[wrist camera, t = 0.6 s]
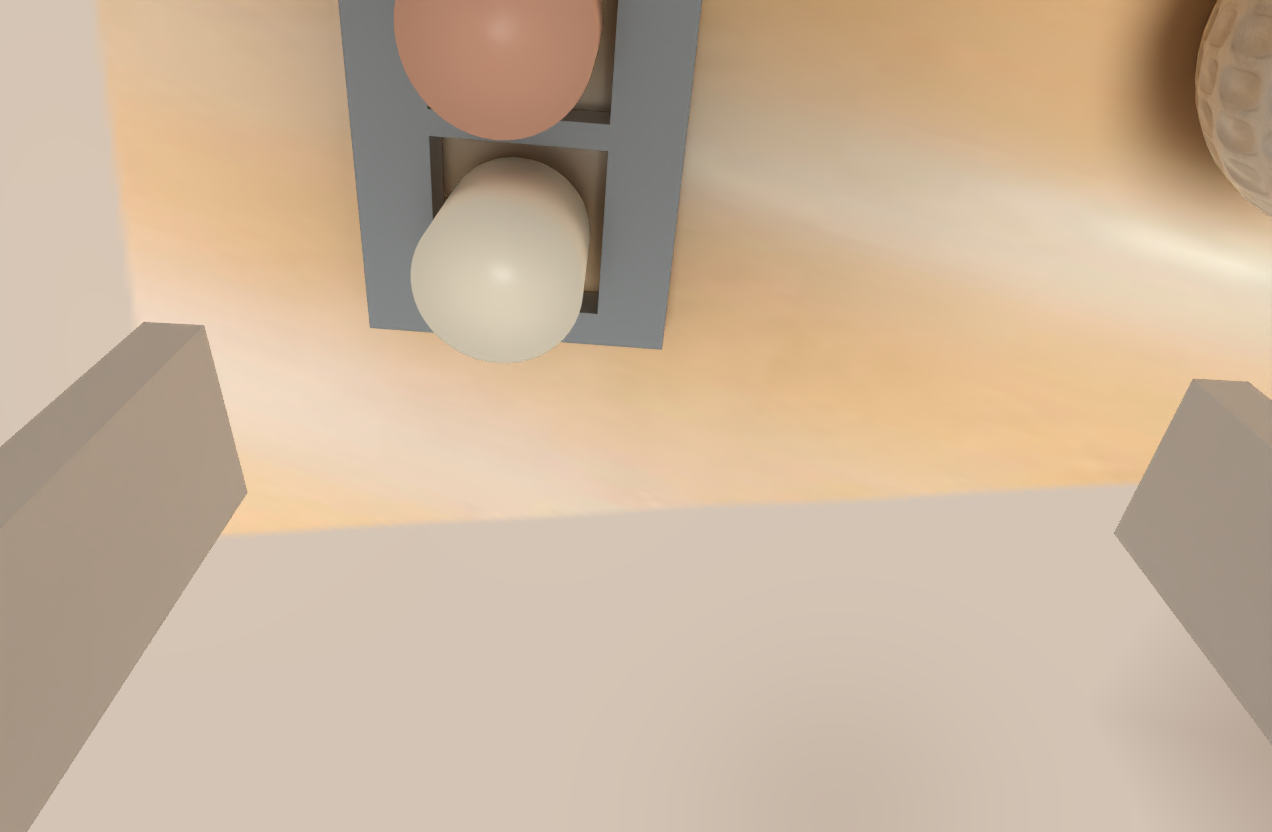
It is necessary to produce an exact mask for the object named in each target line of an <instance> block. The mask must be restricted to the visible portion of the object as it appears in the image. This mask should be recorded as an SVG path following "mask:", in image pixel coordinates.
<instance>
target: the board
mask: <svg viewBox="0 0 1272 832" xmlns="http://www.w3.org/2000/svg"><path fill="white" fill-rule="evenodd" d="M338 2H339V13H340V23H341V33H342V44H343V54H344V64H345V75H346V85H347V95H348V106H349V116H350V126H351V136H352V147H353V157H354V167H355V178H356V188H357V198H358V209H359V219H360V229H361V240H362V250H363V260H364V271H365V281H366V291H367V302H368V312H369V322H370V328H379V329H392V330H406V331H419V332H433V331H432V330H431V329H430V327H429V326H428V325H427V323H426V322H425V321H424V319H423V317H422V315H421V314H420V312H419V310H418V308H417V305H416V303H415V300H414V296H413V293H412V287H411V264H412V259H413V255H414V252H415V249H416V247H417V245H418V243H419V241H420V239H421V237H422V236H423V234H424V233H425V231H426V230H427V228H428V227H429V225H430V224H431V222H432V221H433V219H434V218H435V216H436V215H437V213H438V212H439V210H440V209H441V208H442V206H443V205H444V178H443V153H442V137H448V138H459V139H471V140H483V141H494V142H506V143H517V144H529V145H541V146H552V147H564V148H575V149H587V150H598V151H608V162H607V177H606V192H605V208H604V223H603V238H602V253H601V268H600V284H599V293H598V292H585V291H583V298H582V305H581V309H580V312H579V315H578V317H577V320H576V322H575V324H574V326H573V327H572V329H571V330H570V332H569V333H568V334H567V336H566V337H565V338H564V339H563V340H562V341H561V342H567V343H580V344H594V345H607V346H620V347H634V348H647V349H661V350H662V345H663V336H664V327H665V318H666V310H667V301H668V292H669V283H670V275H671V266H672V257H673V249H674V240H675V231H676V222H677V214H678V205H679V196H680V187H681V179H682V170H683V161H684V152H685V144H686V135H687V126H688V118H689V109H690V100H691V91H692V83H693V74H694V65H695V56H696V48H697V39H698V30H699V21H700V13H701V4H702V0H618V10H617V25H616V40H615V56H614V71H613V86H612V101H611V112H600V111H588V110H577V109H572V110H571V111H570V112H569V113H568V114H567V115H566V116H565V117H564V118H563V119H561V120H560V121H559V122H558V123H556V124H555V125H554V126H552V127H550V128H549V129H547V130H545V131H543V132H541V133H538V134H536V135H534V136H530V137H526V138H523V139H516V140H493V139H486V138H482V137H478V136H475V135H472V134H469V133H467V132H465V131H462V130H460V129H458V128H456V127H455V126H453V125H451V124H450V123H448V122H447V121H445V120H444V119H443V118H441V117H440V116H439V115H437V114H436V113H435V112H434V111H433V110H432V109H431V108H430V107H429V106H428V105H427V104H426V102H425V101H424V100H423V99H422V98H421V96H420V95H419V94H418V92H417V91H416V89H415V88H414V86H413V85H412V83H411V82H410V80H409V78H408V76H407V74H406V72H405V70H404V67H403V64H402V62H401V59H400V56H399V53H398V48H397V44H396V39H395V31H394V7H395V0H338ZM433 333H434V332H433Z"/></svg>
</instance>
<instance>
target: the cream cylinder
mask: <svg viewBox="0 0 1272 832" xmlns="http://www.w3.org/2000/svg"><path fill="white" fill-rule="evenodd" d="M589 245H590V222H589V217H588V213H587V210H586V207H585V205H584V202H583V200H582V199H581V197H580V195H579V193H578V192H577V191H576V189H575V188H574V187H573V185H572V184H571V183H570V182H569V181H568V180H567V179H566V178H565V177H564V176H562V175H561V174H560V173H559V172H557V171H556V170H554V169H553V168H551V167H549V166H547V165H545V164H543V163H540V162H538V161H535V160H531V159H527V158H520V157H505V158H498V159H494V160H490V161H487V162H485V163H483V164H480V165H479V166H477V167H475V168H473V169H472V170H471V171H469V172H468V173H467V174H466V175H465V176H464V177H463V178H462V179H461V180H460V181H459V182H458V184H457V185H456V187H455V188H454V190H453V191H452V193H451V194H450V196H449V197H448V199H447V200H446V202H445V203H444V205H443V206H442V208H441V209H440V210H439V212H438V213H437V215H436V216H435V218H434V219H433V221H432V222H431V224H430V225H429V227H428V228H427V230H426V231H425V233H424V234H423V236H422V237H421V239H420V241H419V243H418V245H417V247H416V249H415V252H414V255H413V259H412V264H411V287H412V293H413V296H414V300H415V303H416V305H417V308H418V310H419V312H420V314H421V315H422V317H423V319H424V321H425V322H426V323H427V325H428V326H429V327H430V329H431V330H432V331H433V332H434V333H435V334H436V335H437V336H438V337H439V338H440V339H441V340H443V341H444V342H445V343H446V344H447V345H449V346H451V347H452V348H454V349H455V350H457V351H459V352H461V353H463V354H465V355H467V356H470V357H472V358H475V359H478V360H482V361H486V362H494V363H515V362H522V361H526V360H530V359H533V358H535V357H538V356H540V355H542V354H544V353H546V352H548V351H549V350H551V349H552V348H554V347H555V346H557V345H558V344H559V343H560V342H561V341H562V340H563V339H564V338H565V337H566V336H567V334H568V333H569V332H570V330H571V329H572V327H573V326H574V324H575V322H576V320H577V317H578V315H579V312H580V309H581V305H582V298H583V291H584V283H585V275H586V268H587V260H588V252H589Z"/></svg>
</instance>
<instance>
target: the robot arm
mask: <svg viewBox="0 0 1272 832" xmlns="http://www.w3.org/2000/svg"><path fill="white" fill-rule="evenodd" d="M246 494H247V489H246V485H245V481H244V477H243V473H242V469H241V466H240V462H239V458H238V454H237V450H236V446H235V442H234V439H233V435H232V431H231V427H230V423H229V419H228V416H227V412H226V408H225V404H224V400H223V396H222V392H221V389H220V385H219V381H218V377H217V373H216V369H215V365H214V362H213V358H212V354H211V350H210V346H209V342H208V339H207V335H206V331H205V327H204V325H188V324H170V323H151V322H143V323H142V324H141V325H140V326H139V327H138V328H136V329H135V330H134V331H133V332H132V333H131V334H130V335H128V336H127V337H126V338H125V339H124V340H123V341H121V342H120V343H119V344H118V345H117V346H116V347H115V348H113V349H112V350H111V351H110V352H109V353H108V354H107V355H106V356H104V357H103V358H102V359H101V360H100V361H99V362H98V363H96V364H95V365H94V366H93V367H92V368H91V369H89V370H88V371H87V372H86V373H85V374H84V375H82V377H80V378H79V379H78V380H77V381H76V382H74V383H73V384H72V385H71V386H70V387H69V388H68V389H66V390H65V391H64V392H63V393H62V394H61V395H59V396H58V397H57V398H56V399H55V400H54V401H53V402H51V403H50V404H49V405H48V406H47V407H46V408H45V409H43V410H42V411H41V412H40V413H39V414H38V415H37V416H35V417H34V418H33V419H32V420H31V421H30V422H28V424H26V425H25V426H24V427H23V428H22V429H20V430H19V431H18V432H17V433H16V434H15V435H14V436H12V437H11V438H10V439H9V440H8V441H7V442H5V443H4V444H3V445H2V446H1V447H0V832H27V831H28V830H29V828H30V827H31V825H32V824H33V822H34V820H35V819H36V817H37V816H38V814H39V813H40V811H41V810H42V808H43V806H44V805H45V803H46V802H47V800H48V799H49V797H50V796H51V794H52V793H53V791H54V790H55V788H56V787H57V785H58V784H59V781H60V780H61V779H62V777H63V776H64V774H65V773H66V771H67V770H68V768H69V766H70V765H71V763H72V762H73V760H74V759H75V757H76V756H77V754H78V753H79V751H80V750H81V748H82V746H83V745H84V743H85V742H86V740H87V739H88V737H89V736H90V734H91V733H92V731H93V730H94V728H95V726H96V725H97V723H98V722H99V720H100V719H101V717H102V716H103V714H104V712H105V711H106V710H107V708H108V706H109V705H110V703H111V702H112V700H113V699H114V697H115V696H116V694H117V693H118V691H119V690H120V688H121V686H122V685H123V683H124V682H125V680H126V679H127V677H128V676H129V674H130V672H131V671H132V669H133V668H134V666H135V665H136V663H137V662H138V660H139V659H140V657H141V656H142V654H143V652H144V651H145V649H146V648H147V646H148V645H149V643H150V642H151V640H152V638H153V637H154V636H155V634H156V633H157V631H158V629H159V628H160V626H161V625H162V623H163V621H164V620H165V619H166V617H167V616H168V614H169V612H170V611H171V609H172V608H173V606H174V605H175V603H176V602H177V600H178V599H179V597H180V596H181V594H182V592H183V591H184V589H185V588H186V586H187V585H188V583H189V582H190V580H191V579H192V577H193V575H194V574H195V572H196V571H197V569H198V568H199V566H200V565H201V563H202V561H203V560H204V558H205V557H206V555H207V554H208V552H209V551H210V549H211V548H212V546H213V545H214V543H215V542H216V540H217V539H218V537H219V535H220V534H221V532H222V531H223V529H224V528H225V526H226V525H227V523H228V522H229V520H230V518H231V517H232V515H233V514H234V512H235V511H236V509H237V508H238V506H239V505H240V503H241V502H242V500H243V498H244V497H245V495H246ZM1114 534H1115V535H1116V537H1117V538H1118V539H1119V541H1120V542H1121V543H1122V545H1123V546H1124V547H1125V549H1126V550H1127V551H1128V552H1129V554H1130V555H1131V557H1132V558H1133V560H1134V561H1135V562H1136V563H1137V565H1138V566H1139V567H1140V569H1141V570H1142V572H1143V573H1144V574H1145V575H1146V577H1147V578H1148V580H1149V581H1150V582H1151V584H1152V585H1153V586H1154V587H1155V589H1156V590H1157V592H1158V593H1159V594H1160V596H1161V597H1162V598H1163V600H1164V601H1165V602H1166V604H1167V605H1168V606H1169V608H1170V609H1171V610H1172V612H1173V613H1174V614H1175V616H1176V617H1177V618H1178V620H1179V621H1180V622H1181V624H1182V625H1183V626H1184V628H1185V629H1186V631H1187V632H1188V633H1189V634H1190V636H1191V637H1192V638H1193V640H1194V641H1195V643H1196V644H1197V645H1198V647H1199V648H1200V649H1201V651H1202V652H1203V653H1204V655H1205V656H1206V657H1207V659H1208V660H1209V661H1210V663H1211V664H1212V665H1213V667H1214V668H1215V669H1216V671H1217V672H1218V673H1219V675H1220V676H1221V677H1222V679H1223V680H1224V681H1225V683H1226V684H1227V685H1228V687H1229V688H1230V689H1231V691H1232V692H1233V693H1234V695H1235V696H1236V697H1237V699H1238V700H1239V701H1240V703H1241V704H1242V706H1243V707H1244V708H1245V710H1246V711H1247V712H1248V713H1249V715H1250V716H1251V718H1252V719H1253V720H1254V722H1255V723H1256V724H1257V726H1258V727H1259V728H1260V729H1261V731H1262V732H1263V734H1264V735H1265V736H1266V737H1267V739H1268V740H1269V742H1270V743H1271V744H1272V400H1270V399H1269V398H1268V397H1267V396H1265V395H1264V394H1263V393H1262V392H1260V391H1259V390H1258V389H1257V388H1255V387H1254V386H1253V385H1252V384H1250V383H1249V382H1243V381H1225V380H1206V379H1193V380H1192V382H1191V384H1190V386H1189V388H1188V390H1187V392H1186V393H1185V395H1184V397H1183V399H1182V401H1181V403H1180V405H1179V407H1178V409H1177V411H1176V413H1175V415H1174V417H1173V419H1172V421H1171V423H1170V425H1169V427H1168V429H1167V431H1166V433H1165V435H1164V436H1163V438H1162V440H1161V442H1160V444H1159V446H1158V448H1157V450H1156V452H1155V454H1154V456H1153V458H1152V460H1151V462H1150V464H1149V466H1148V468H1147V470H1146V472H1145V474H1144V476H1143V478H1142V480H1141V481H1140V483H1139V485H1138V487H1137V489H1136V491H1135V493H1134V495H1133V497H1132V499H1131V501H1130V503H1129V505H1128V507H1127V509H1126V511H1125V513H1124V515H1123V517H1122V519H1121V521H1120V523H1119V524H1118V526H1117V528H1116V531H1115V532H1114Z"/></svg>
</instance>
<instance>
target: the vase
mask: <svg viewBox="0 0 1272 832" xmlns="http://www.w3.org/2000/svg"><path fill="white" fill-rule="evenodd" d="M1195 96H1196V107H1197V112H1198V117H1199V121H1200V125H1201V129H1202V132H1203V136H1204V139H1205V142H1206V145H1207V147H1208V149H1209V151H1210V154H1211V156H1212V158H1213V160H1214V162H1215V163H1216V165H1217V166H1218V167H1219V169H1220V170H1221V171H1222V173H1223V174H1224V175H1225V177H1226V178H1227V179H1228V180H1229V182H1230V183H1231V184H1232V185H1233V186H1234V188H1235V189H1236V190H1237V191H1238V192H1239V194H1240V195H1241V196H1242V197H1243V198H1245V199H1246V200H1247V201H1248V202H1249V203H1251V204H1252V205H1253V206H1254V207H1255V208H1257V209H1258V210H1259V211H1261V212H1262V213H1264V214H1265V215H1267V216H1268V217H1270V218H1271V219H1272V0H1217V2H1216V4H1215V6H1214V8H1213V10H1212V12H1211V15H1210V17H1209V19H1208V22H1207V24H1206V27H1205V29H1204V32H1203V36H1202V40H1201V43H1200V47H1199V51H1198V58H1197V66H1196V76H1195Z"/></svg>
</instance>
